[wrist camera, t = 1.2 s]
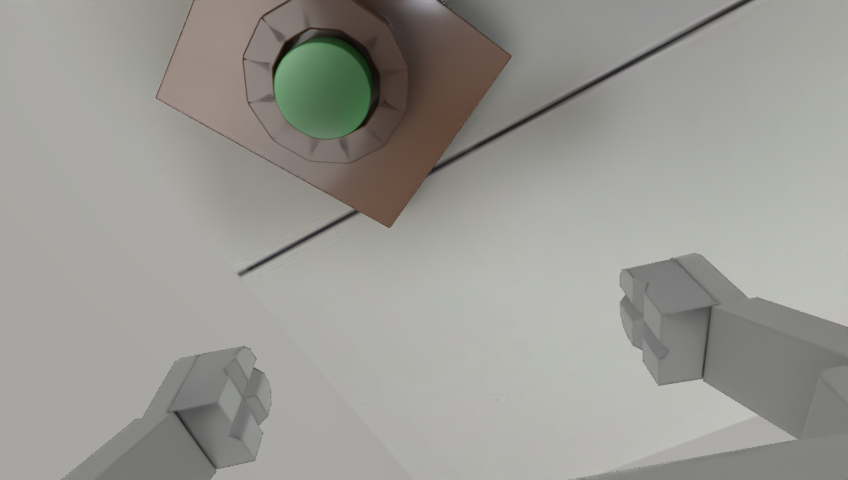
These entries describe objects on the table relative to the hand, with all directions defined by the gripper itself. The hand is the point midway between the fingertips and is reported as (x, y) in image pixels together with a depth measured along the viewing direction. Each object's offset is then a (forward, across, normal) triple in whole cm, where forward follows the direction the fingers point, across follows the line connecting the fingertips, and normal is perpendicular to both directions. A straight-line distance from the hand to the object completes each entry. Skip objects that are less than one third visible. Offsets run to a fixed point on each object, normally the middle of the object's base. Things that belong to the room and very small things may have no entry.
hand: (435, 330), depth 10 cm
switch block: (+16, +3, -4) cm, 16 cm away
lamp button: (+12, +3, -4) cm, 13 cm away
